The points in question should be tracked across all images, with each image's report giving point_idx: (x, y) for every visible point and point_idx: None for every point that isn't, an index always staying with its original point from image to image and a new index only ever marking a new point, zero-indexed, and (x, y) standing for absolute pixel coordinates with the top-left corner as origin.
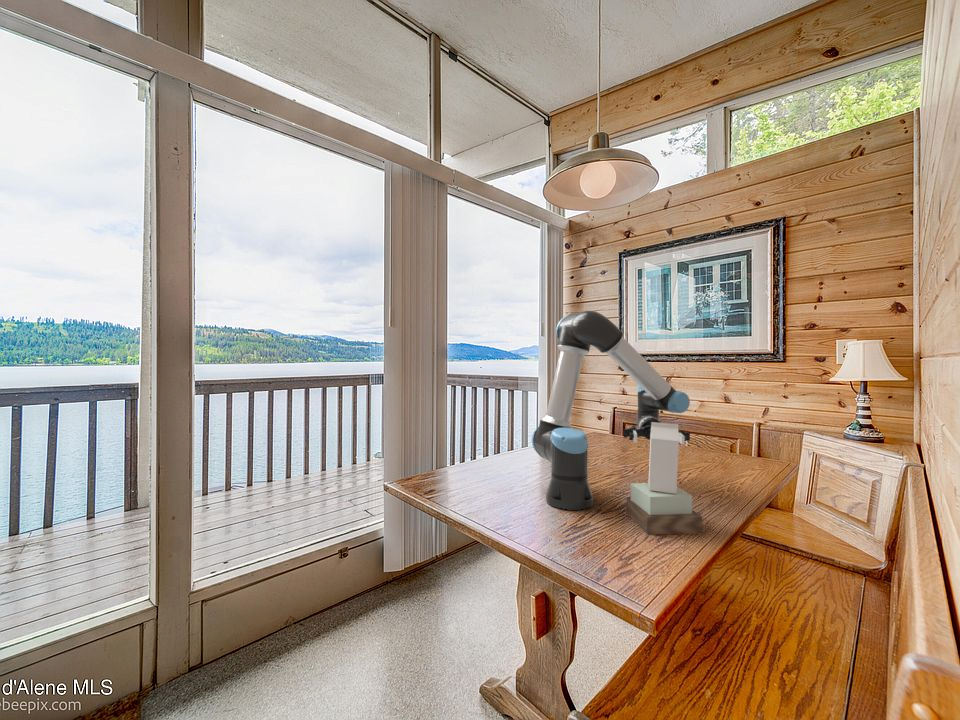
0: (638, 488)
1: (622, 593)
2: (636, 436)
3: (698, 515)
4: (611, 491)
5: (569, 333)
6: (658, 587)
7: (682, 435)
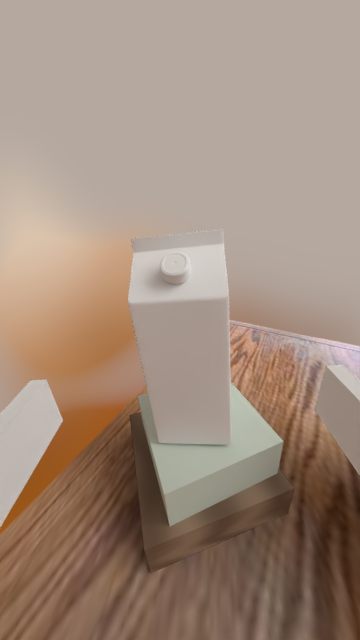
0: (251, 406)
1: (233, 325)
2: (327, 378)
3: (134, 418)
4: None
5: None
6: None
7: (13, 407)
